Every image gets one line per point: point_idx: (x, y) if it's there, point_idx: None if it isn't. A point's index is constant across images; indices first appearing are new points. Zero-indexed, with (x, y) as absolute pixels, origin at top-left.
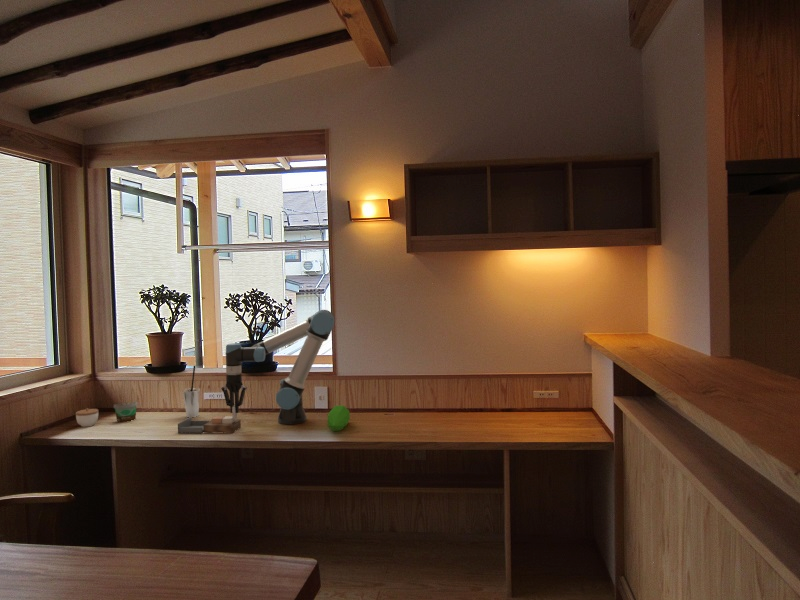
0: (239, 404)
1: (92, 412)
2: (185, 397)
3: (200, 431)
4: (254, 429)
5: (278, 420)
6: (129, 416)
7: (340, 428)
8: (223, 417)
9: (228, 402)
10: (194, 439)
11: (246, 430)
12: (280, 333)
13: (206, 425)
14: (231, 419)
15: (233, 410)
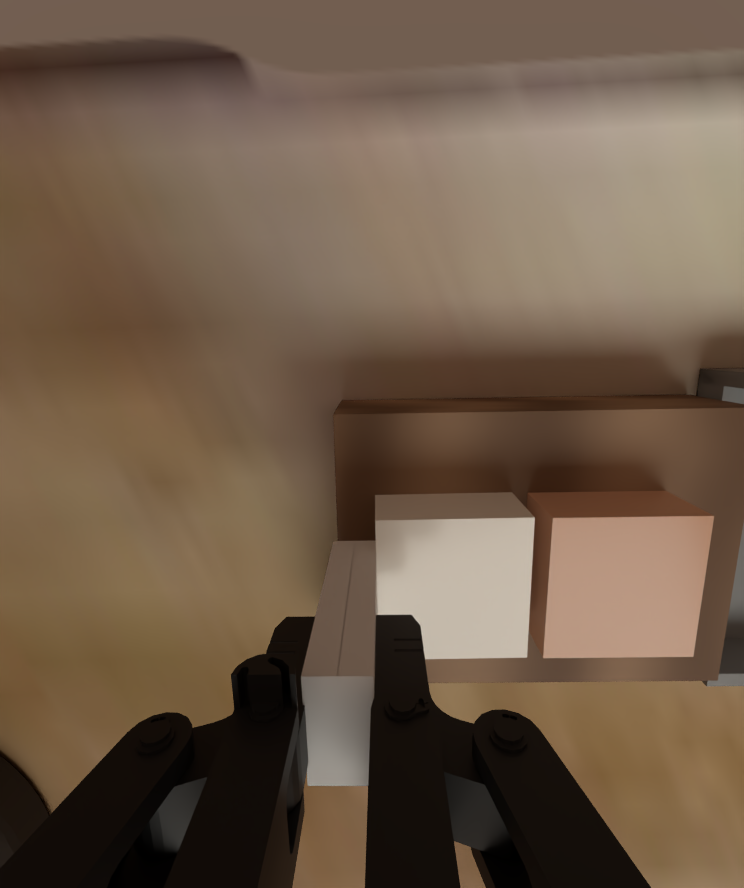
0: (144, 738)
1: None
2: None
3: (736, 370)
4: (156, 547)
5: (1, 791)
6: None
7: None
8: (544, 601)
9: (502, 802)
10: (712, 111)
11: (227, 508)
12: None
13: (712, 406)
14: (377, 516)
15: (346, 627)
